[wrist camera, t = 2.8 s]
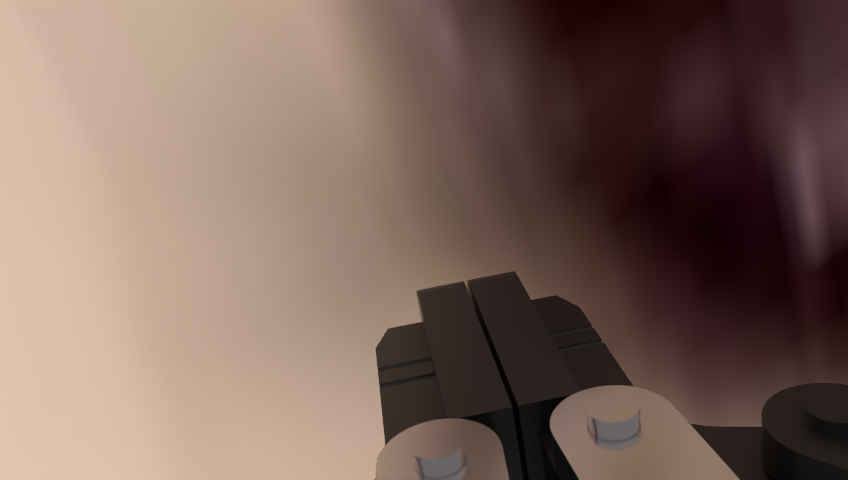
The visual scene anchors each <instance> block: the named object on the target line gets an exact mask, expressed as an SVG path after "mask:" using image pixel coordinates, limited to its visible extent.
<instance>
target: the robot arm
mask: <svg viewBox="0 0 848 480" xmlns="http://www.w3.org/2000/svg"><path fill="white" fill-rule="evenodd" d="M417 297H418V303H419V308H420V314H421V319H422V322H420V323H415V324H410V325H405V326H400V327H395V328H390V329H388V330H387V331H386V333H385V334H384V336H383V338H382V339H381V341H380V342H379V344H378V346H377V347H376V356H377V366H378V375H379V385H380V395H381V405H382V415H383V425H384V435H385V446H384V448H383V449H382V451H381V452H380V454H379V457H378V459H377V464H376V479H375V480H848V385H842V384H832V383H812V384H804V385H798V386H794V387H790V388H788V389H785V390H782V391H780V392H778V393H777V394H775V395H773V396H772V397H771V398H770V399H769V400H768V401H767V402H766V403H765V405H764V407H763V410H762V427H713V426H701V425H694V424H690V423H689V422H688V421H687V420H686V419H685V418H684V417H683V416H682V415H681V413H680V412H679V411H678V410H677V409H676V408H675V407H674V406H673V405H672V404H671V403H670V402H669V401H668V400H667V399H665V398H664V397H662V396H660V395H659V394H656V393H654V392H652V391H649V390H646V389H643V388H638V387H634V386H633V385H632V383H631V382H630V381H629V379H628V378H627V376H626V375H625V373H624V372H623V370H622V369H621V367H620V366H619V364H618V363H617V361H616V360H615V359H614V357H613V356H612V354H611V353H610V351H609V350H608V348H607V347H606V345H605V344H604V343H602V341H601V338H600V337H599V335H598V334H597V332H596V331H595V329H594V328H593V329H592V325H591V323H590V322H589V320H588V319H587V318H586V316H585V315H584V313H583V312H582V310H581V309H580V307H578V306H576V305H574V304H572V303H570V302H568V301H566V300H564V299H562V298H560V297H558V296H556V295H555V296H550V297H545V298H540V299H535V300H531V299H530V297H529V296H528V294H527V292H526V290H525V288H524V287H523V285H522V283H521V281H520V279H519V278H518V276H517V274H516V273H515V272H514V271H513V272H508V273H503V274H498V275H493V276H488V277H483V278H477V279H472V280H467V288H466V286H465V283H464V282H458V283H453V284H448V285H443V286H438V287H433V288H427V289H422V290H417Z"/></svg>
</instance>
